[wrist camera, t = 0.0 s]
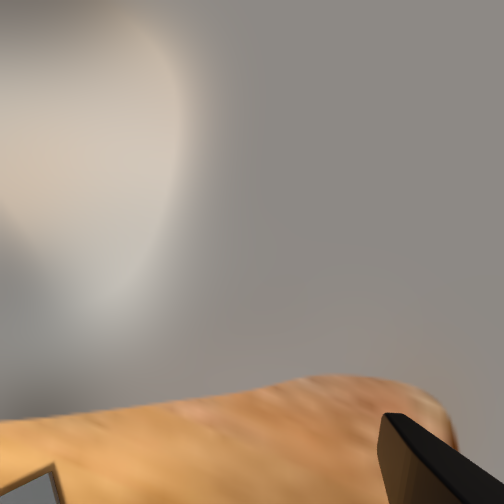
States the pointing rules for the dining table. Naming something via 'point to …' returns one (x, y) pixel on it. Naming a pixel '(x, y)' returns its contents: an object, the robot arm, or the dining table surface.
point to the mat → (33, 492)
